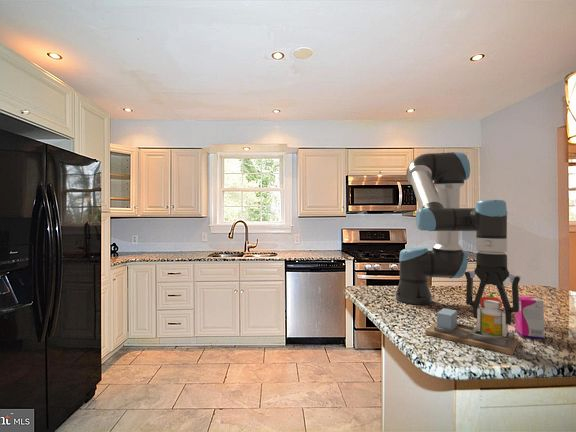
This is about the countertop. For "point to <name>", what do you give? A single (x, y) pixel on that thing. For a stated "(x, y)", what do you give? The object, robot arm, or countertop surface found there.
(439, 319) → the block
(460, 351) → the countertop surface
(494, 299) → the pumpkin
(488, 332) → the supplement bottle
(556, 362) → the countertop surface
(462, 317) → the countertop surface
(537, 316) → the supplement box
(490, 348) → the brown tray with rails
